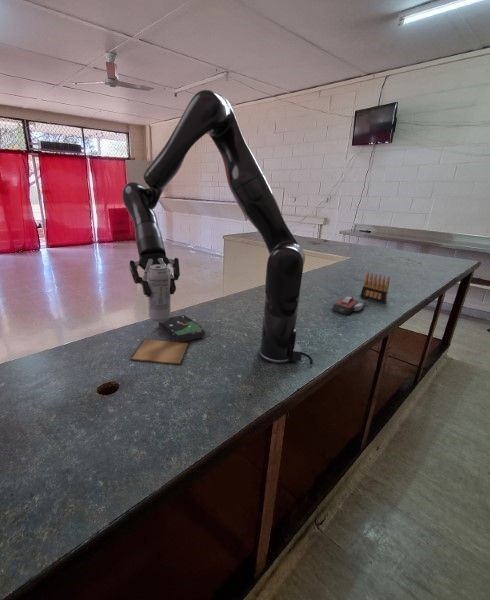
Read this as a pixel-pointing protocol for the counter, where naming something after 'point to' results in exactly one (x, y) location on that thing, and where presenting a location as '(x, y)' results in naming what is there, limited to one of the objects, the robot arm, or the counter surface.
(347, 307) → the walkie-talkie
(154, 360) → the cork pad
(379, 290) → the ammunition clip
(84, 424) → the counter surface
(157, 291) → the energy drink can
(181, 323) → the disk drive
